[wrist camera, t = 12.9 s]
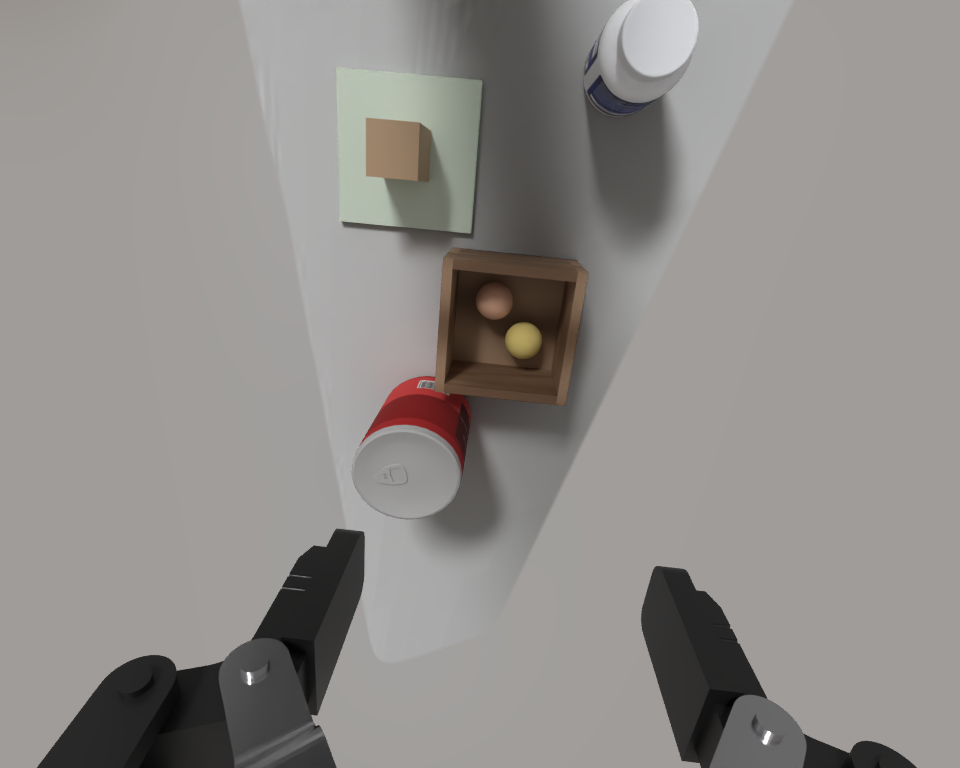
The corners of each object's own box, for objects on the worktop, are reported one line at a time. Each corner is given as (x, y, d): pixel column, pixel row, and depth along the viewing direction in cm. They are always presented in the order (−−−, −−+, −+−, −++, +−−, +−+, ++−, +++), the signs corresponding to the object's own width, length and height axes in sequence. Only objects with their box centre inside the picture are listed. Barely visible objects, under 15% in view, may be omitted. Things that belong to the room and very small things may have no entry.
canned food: (370, 394, 45) (330, 454, 35) (447, 358, 43) (428, 410, 33) (411, 460, 47) (384, 535, 37) (485, 429, 46) (479, 498, 35)
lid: (340, 70, 36) (309, 48, 30) (483, 82, 36) (478, 63, 30) (343, 220, 40) (316, 225, 34) (471, 232, 40) (465, 239, 34)
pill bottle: (665, 104, 35) (719, 74, 26) (591, 128, 36) (618, 107, 27) (652, 17, 33) (706, -47, 24) (575, 45, 34) (598, -7, 25)
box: (453, 247, 40) (443, 257, 34) (576, 260, 40) (588, 273, 34) (444, 363, 43) (434, 391, 37) (557, 375, 43) (565, 405, 37)
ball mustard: (507, 316, 41) (507, 325, 38) (543, 320, 41) (545, 329, 38) (503, 350, 42) (503, 361, 39) (538, 354, 42) (540, 366, 39)
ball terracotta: (478, 276, 40) (476, 283, 37) (515, 280, 40) (515, 287, 37) (475, 312, 41) (472, 321, 38) (510, 316, 41) (511, 325, 38)
